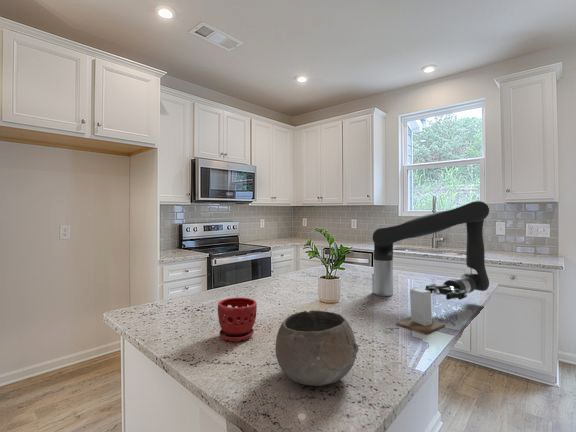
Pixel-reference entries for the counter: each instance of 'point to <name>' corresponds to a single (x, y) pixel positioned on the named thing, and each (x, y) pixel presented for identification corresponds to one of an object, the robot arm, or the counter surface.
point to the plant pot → (237, 318)
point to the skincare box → (421, 306)
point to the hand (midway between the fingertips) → (436, 294)
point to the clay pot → (315, 347)
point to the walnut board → (420, 326)
